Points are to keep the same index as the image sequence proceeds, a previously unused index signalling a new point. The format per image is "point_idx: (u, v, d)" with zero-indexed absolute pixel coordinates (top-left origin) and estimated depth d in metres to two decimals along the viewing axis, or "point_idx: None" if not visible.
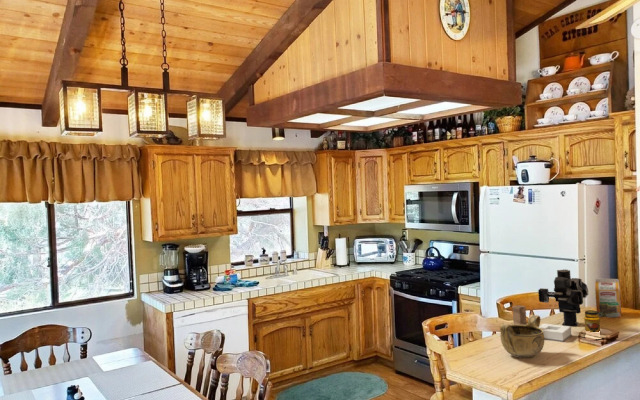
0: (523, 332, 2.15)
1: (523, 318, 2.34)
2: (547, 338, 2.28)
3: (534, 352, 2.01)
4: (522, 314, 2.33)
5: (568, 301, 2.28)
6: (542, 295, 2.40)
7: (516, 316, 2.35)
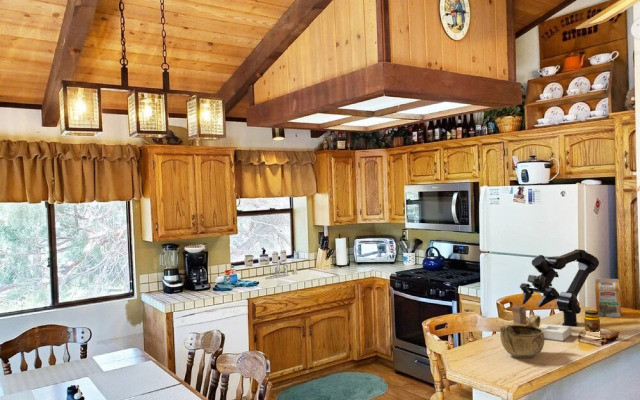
0: (523, 332, 2.15)
1: (523, 318, 2.34)
2: (547, 338, 2.28)
3: (534, 352, 2.01)
4: (522, 314, 2.33)
5: (540, 305, 2.35)
6: None
7: (516, 316, 2.35)
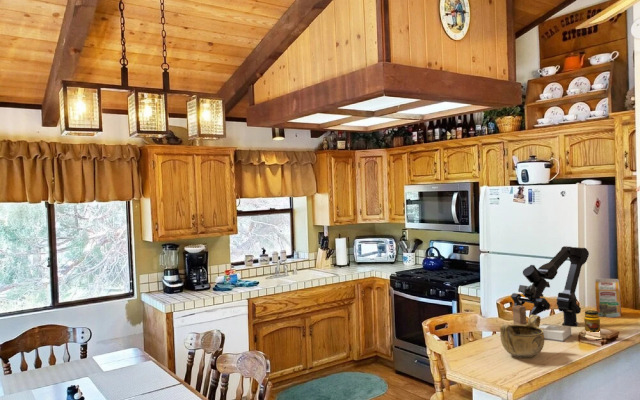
0: (523, 332, 2.15)
1: (523, 318, 2.34)
2: (547, 338, 2.28)
3: (534, 352, 2.01)
4: (522, 314, 2.33)
5: None
6: None
7: (516, 316, 2.35)
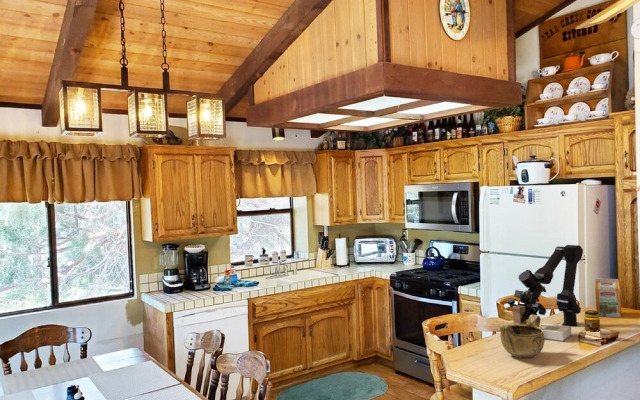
0: (523, 332, 2.15)
1: None
2: (547, 338, 2.28)
3: (534, 352, 2.01)
4: (522, 314, 2.33)
5: (523, 320, 2.33)
6: None
7: (516, 316, 2.35)
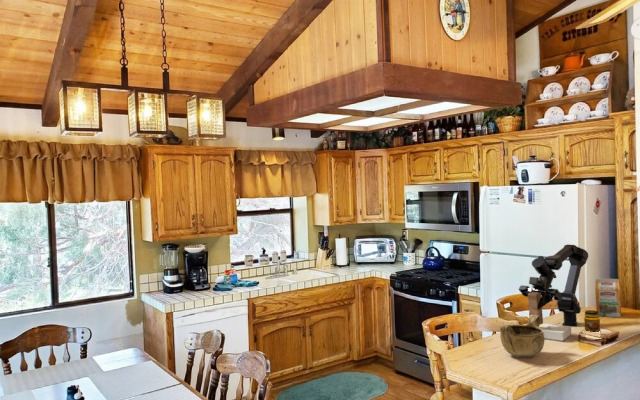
0: (523, 332, 2.15)
1: None
2: (547, 338, 2.28)
3: (534, 352, 2.01)
4: (538, 300, 2.31)
5: (539, 307, 2.31)
6: None
7: (532, 303, 2.32)
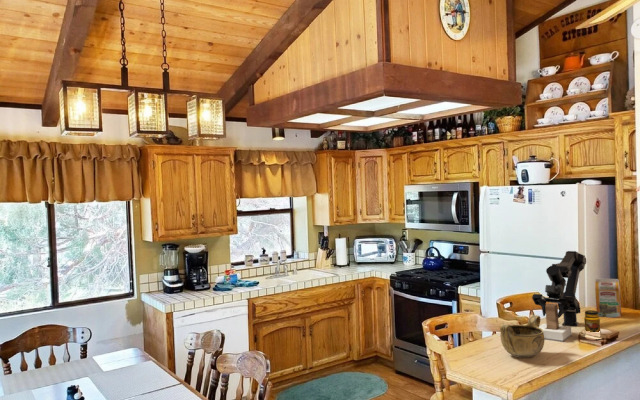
0: (523, 332, 2.15)
1: (556, 316, 2.31)
2: (547, 338, 2.28)
3: (534, 352, 2.01)
4: (556, 312, 2.30)
5: (559, 316, 2.29)
6: (540, 302, 2.38)
7: (550, 315, 2.30)
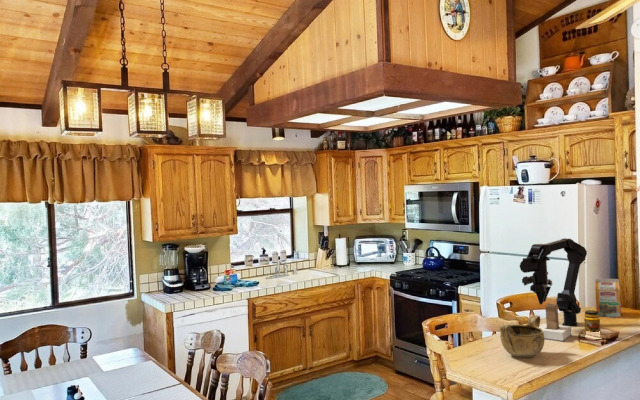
0: (523, 332, 2.15)
1: (556, 316, 2.31)
2: (547, 338, 2.28)
3: (534, 352, 2.01)
4: (556, 312, 2.30)
5: (541, 302, 2.40)
6: None
7: (550, 315, 2.30)
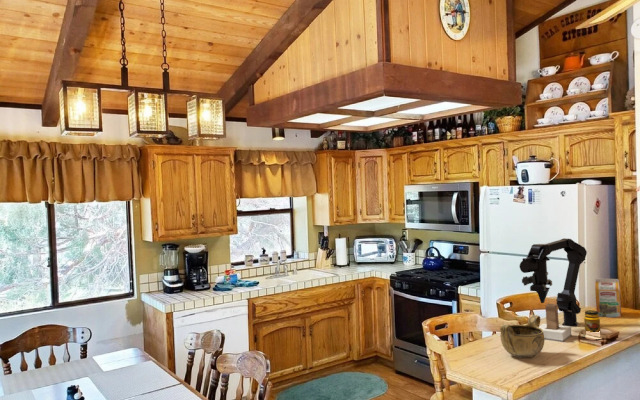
0: (523, 332, 2.15)
1: (556, 316, 2.31)
2: (547, 338, 2.28)
3: (534, 352, 2.01)
4: (556, 312, 2.30)
5: (542, 301, 2.43)
6: None
7: (550, 315, 2.30)
